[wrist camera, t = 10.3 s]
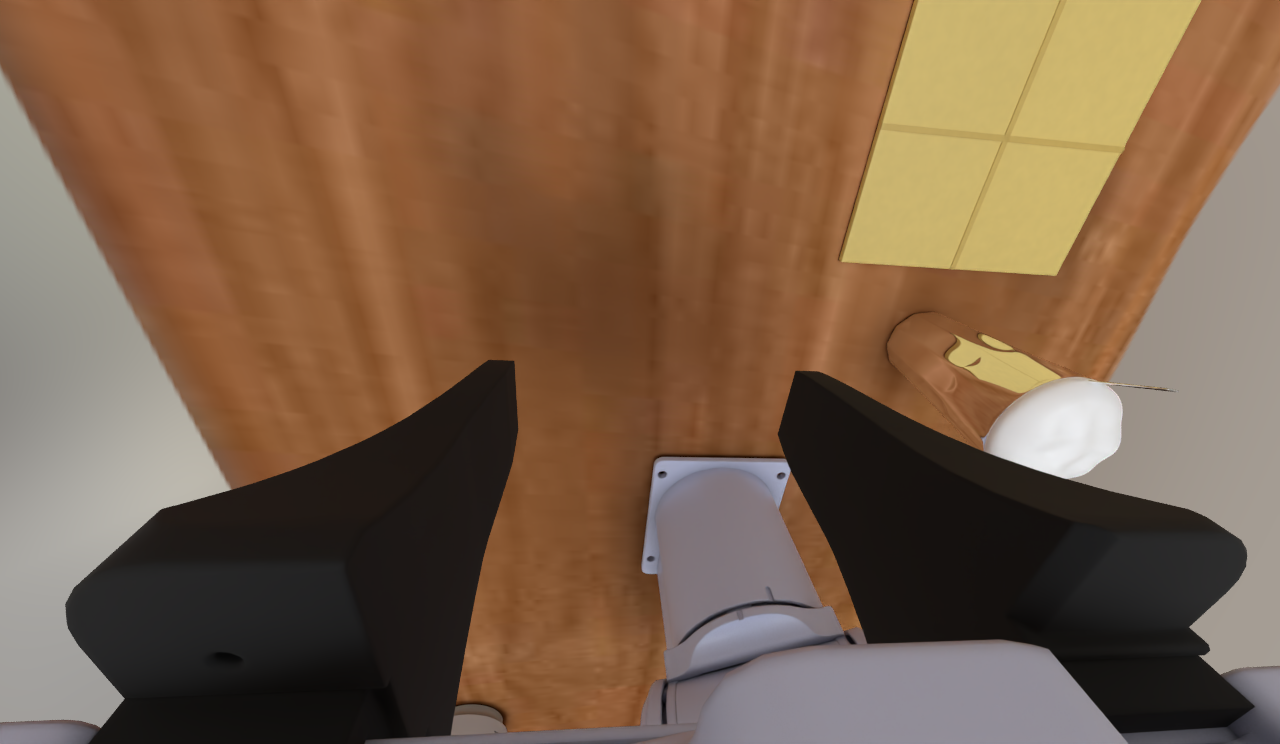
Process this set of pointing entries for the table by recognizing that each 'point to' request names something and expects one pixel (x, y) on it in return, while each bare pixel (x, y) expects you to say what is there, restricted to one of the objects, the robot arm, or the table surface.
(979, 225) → the napkin
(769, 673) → the robot arm
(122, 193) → the table surface
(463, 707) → the energy drink can
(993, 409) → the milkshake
